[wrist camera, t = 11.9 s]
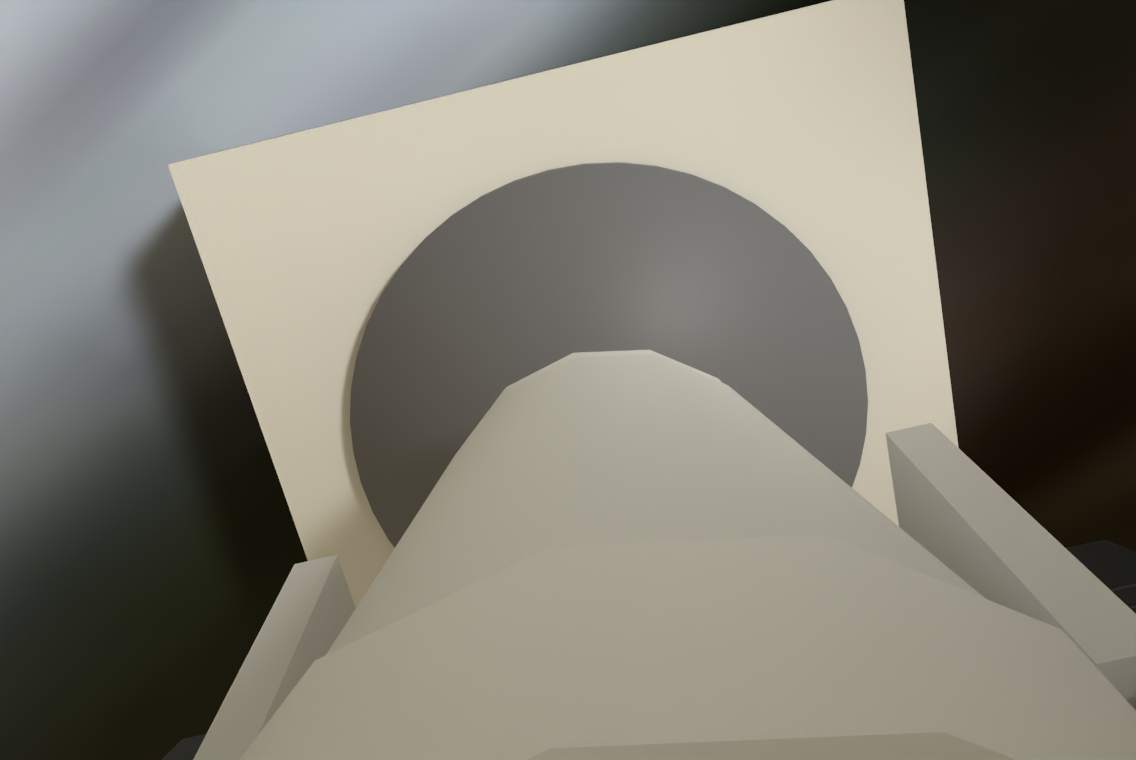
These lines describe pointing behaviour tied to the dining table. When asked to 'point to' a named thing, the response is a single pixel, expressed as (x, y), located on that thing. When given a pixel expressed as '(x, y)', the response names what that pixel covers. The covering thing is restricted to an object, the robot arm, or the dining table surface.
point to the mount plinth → (584, 258)
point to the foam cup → (677, 605)
